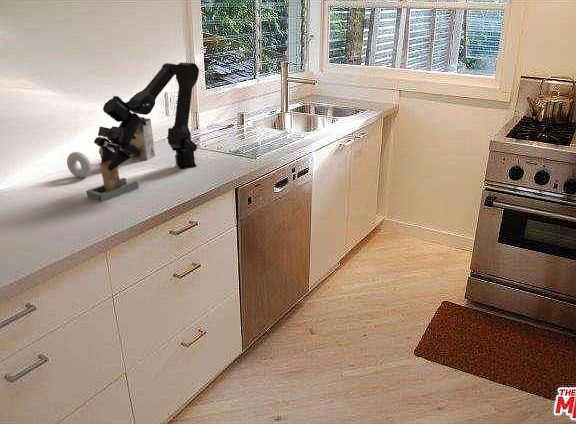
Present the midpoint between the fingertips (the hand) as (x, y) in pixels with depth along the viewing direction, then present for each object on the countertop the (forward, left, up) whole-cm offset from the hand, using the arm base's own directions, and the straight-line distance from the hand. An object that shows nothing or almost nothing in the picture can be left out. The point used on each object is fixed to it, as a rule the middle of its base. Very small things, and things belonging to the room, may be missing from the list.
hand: (105, 169), depth 167 cm
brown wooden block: (-1, -1, -8) cm, 8 cm away
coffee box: (-20, -38, -9) cm, 43 cm away
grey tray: (-1, -1, -9) cm, 9 cm away
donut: (+6, -25, -9) cm, 27 cm away
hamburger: (-6, -30, -9) cm, 31 cm away
